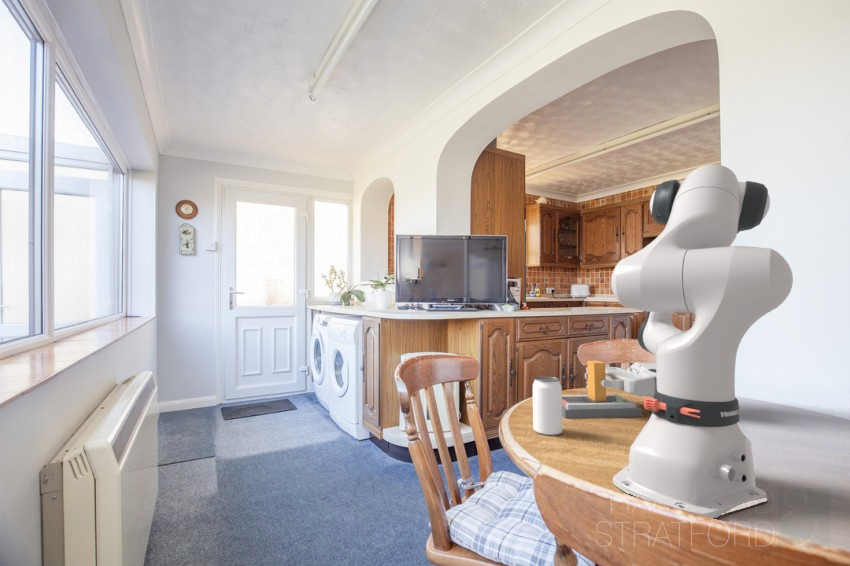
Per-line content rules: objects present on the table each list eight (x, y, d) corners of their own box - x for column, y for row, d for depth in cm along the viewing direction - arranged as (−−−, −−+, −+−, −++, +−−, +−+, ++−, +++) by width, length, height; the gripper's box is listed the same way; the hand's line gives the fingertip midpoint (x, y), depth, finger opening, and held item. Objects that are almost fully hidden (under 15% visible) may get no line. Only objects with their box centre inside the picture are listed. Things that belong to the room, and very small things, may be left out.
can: (565, 429, 92) (564, 377, 93) (558, 438, 87) (557, 382, 87) (537, 425, 96) (537, 375, 96) (529, 432, 90) (528, 379, 91)
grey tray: (618, 405, 113) (618, 393, 113) (641, 416, 102) (641, 404, 102) (549, 406, 112) (549, 394, 112) (565, 418, 101) (565, 405, 101)
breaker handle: (600, 399, 110) (599, 360, 111) (611, 405, 104) (610, 363, 105) (583, 400, 110) (582, 360, 110) (593, 405, 104) (592, 363, 104)
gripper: (622, 361, 118) (576, 361, 118) (667, 374, 98) (612, 375, 97) (622, 382, 118) (577, 383, 117) (667, 400, 98) (612, 400, 97)
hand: (593, 379), depth 107 cm, fingers open, 8 cm apart
